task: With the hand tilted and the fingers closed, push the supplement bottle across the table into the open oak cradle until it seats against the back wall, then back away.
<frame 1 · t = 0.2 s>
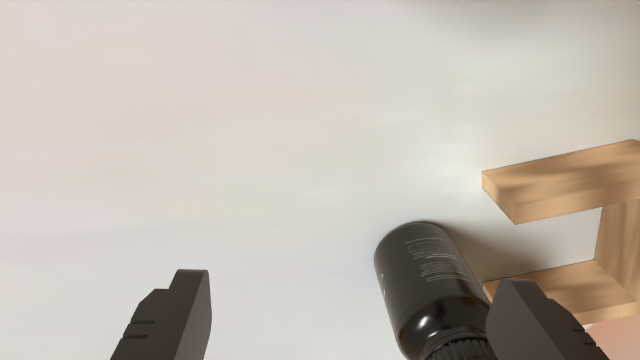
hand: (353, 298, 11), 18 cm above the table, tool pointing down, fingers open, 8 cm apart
cradle: (541, 226, 33), on the table
supplement bottle: (411, 251, 33), on the table
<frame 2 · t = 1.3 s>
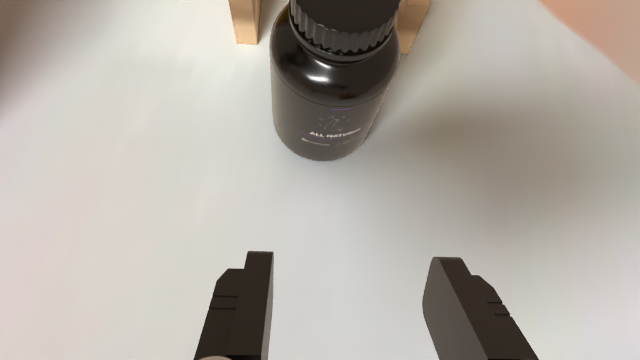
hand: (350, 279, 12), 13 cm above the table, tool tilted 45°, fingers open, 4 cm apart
supplement bottle: (321, 121, 28), on the table
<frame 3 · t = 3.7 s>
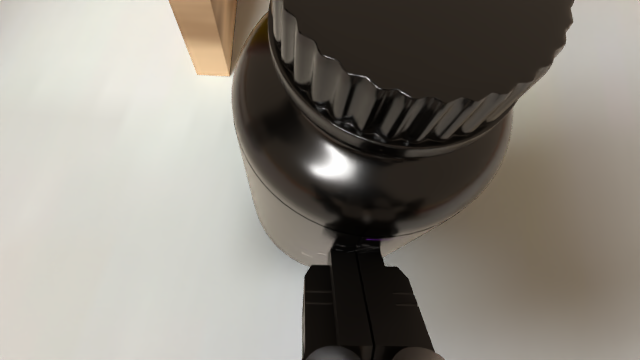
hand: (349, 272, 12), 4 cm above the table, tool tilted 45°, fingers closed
supplement bottle: (334, 195, 17), on the table, touching gripper
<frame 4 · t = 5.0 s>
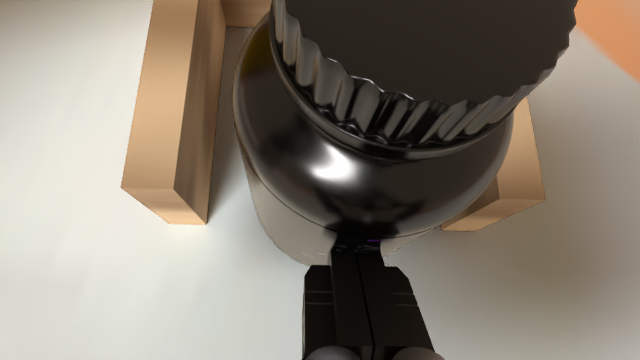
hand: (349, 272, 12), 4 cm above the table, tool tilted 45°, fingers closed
cradle: (326, 121, 18), on the table
supplement bottle: (333, 194, 17), on the table, touching gripper
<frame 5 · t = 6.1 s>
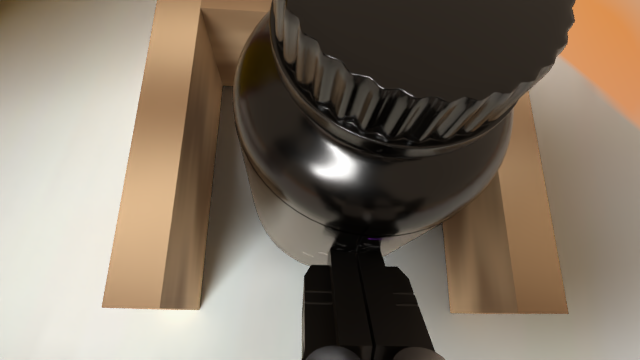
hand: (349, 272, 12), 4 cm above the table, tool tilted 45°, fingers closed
cradle: (328, 191, 17), on the table
supplement bottle: (334, 194, 17), on the table, touching gripper
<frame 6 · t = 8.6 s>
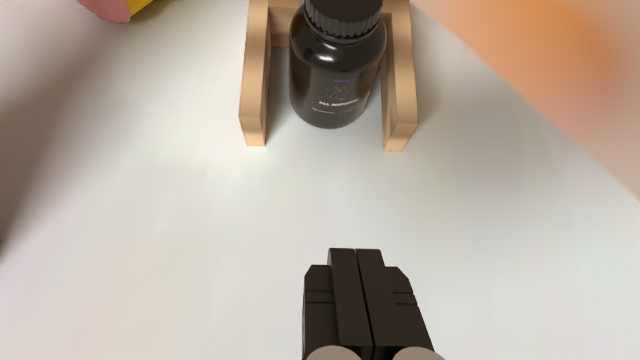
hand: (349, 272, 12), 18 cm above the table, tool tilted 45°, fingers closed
cradle: (325, 96, 35), on the table
supplement bottle: (328, 98, 35), on the table
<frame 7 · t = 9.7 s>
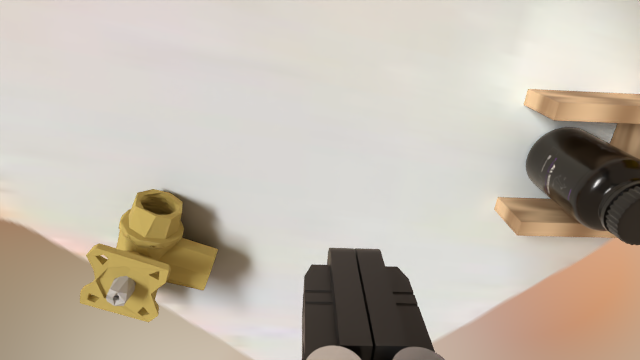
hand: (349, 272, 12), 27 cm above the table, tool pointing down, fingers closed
ball valve: (169, 240, 43), on the table
cradle: (557, 155, 40), on the table
supplement bottle: (555, 156, 40), on the table
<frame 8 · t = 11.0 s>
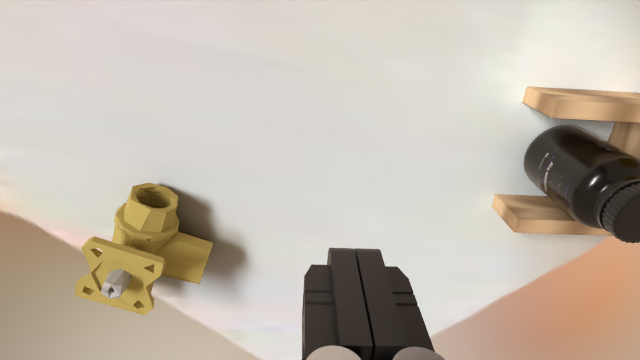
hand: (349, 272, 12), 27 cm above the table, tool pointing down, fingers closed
ball valve: (165, 234, 43), on the table
cradle: (555, 153, 40), on the table
supplement bottle: (553, 154, 41), on the table
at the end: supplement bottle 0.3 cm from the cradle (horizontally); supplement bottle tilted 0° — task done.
